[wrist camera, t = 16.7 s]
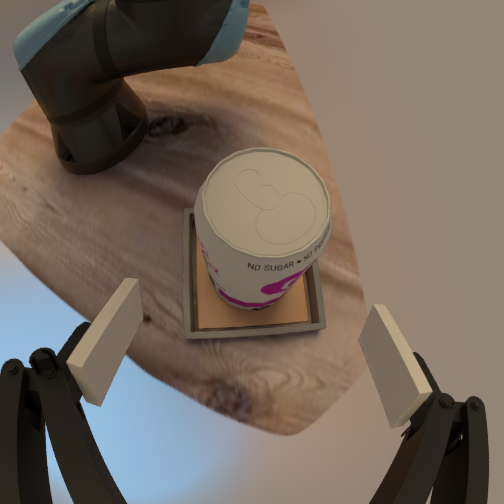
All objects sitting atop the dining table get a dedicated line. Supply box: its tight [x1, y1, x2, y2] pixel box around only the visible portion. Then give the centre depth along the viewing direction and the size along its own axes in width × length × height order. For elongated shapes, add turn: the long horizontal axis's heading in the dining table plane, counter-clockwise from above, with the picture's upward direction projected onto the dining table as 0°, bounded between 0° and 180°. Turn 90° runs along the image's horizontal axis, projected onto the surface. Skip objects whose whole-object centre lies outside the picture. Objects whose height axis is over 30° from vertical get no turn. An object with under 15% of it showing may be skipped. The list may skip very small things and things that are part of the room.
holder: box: [183, 208, 326, 340], centre depth 28 cm, size 13×13×2 cm
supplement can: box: [194, 147, 332, 311], centre depth 22 cm, size 8×8×15 cm
